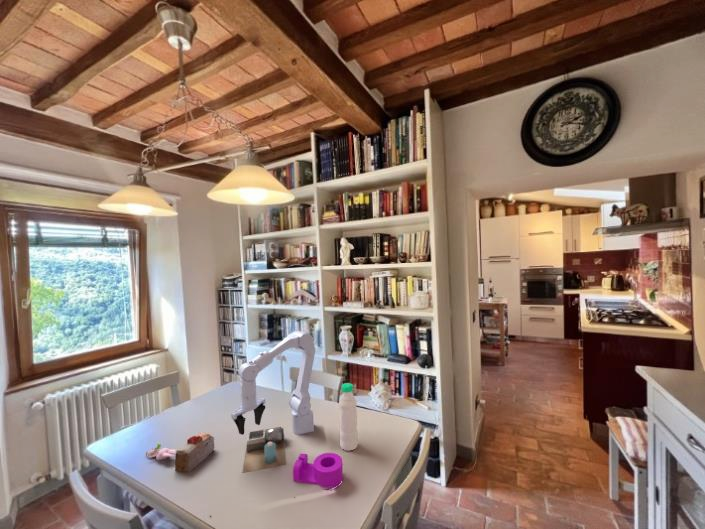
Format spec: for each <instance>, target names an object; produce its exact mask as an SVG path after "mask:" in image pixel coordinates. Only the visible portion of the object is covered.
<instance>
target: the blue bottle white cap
mask: <svg viewBox="0 0 705 529" xmlns="http://www.w3.org/2000/svg"><path fill="white" fill-rule="evenodd" d="M264 450H265V463H267V464H271V463H273V462H275V461H276V445H275V443H273V442H271V441H270V442H268V443H267V444H266V445H265V446H264Z"/></svg>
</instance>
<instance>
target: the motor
mask: <svg viewBox="0 0 705 529" xmlns="http://www.w3.org/2000/svg"><path fill="white" fill-rule="evenodd" d="M284 433H285V432H284V427H282V426H277V427H272V428H263V429H257V430H250V431H248V432H247V437H246V438H247V439H246V446H247V452H252V451H258V450H263V449H264V446H265V445H266V444H267V443H268V442H270V441H271V442H273V443H280V442H282V440H284V438H285V434H284Z"/></svg>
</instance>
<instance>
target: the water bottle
mask: <svg viewBox="0 0 705 529" xmlns="http://www.w3.org/2000/svg"><path fill="white" fill-rule="evenodd" d="M341 392H342V394H341V397H340V398H339V402H338V405H339V413H338V414H339V416H338V417H339V437H340V438H339V440H340V441H339V444H340V445H339V446H340V448H341V449H342V450H343V449H344V450H343V451H345V450H352V449H354V448H356V447H358V446H357V445H359V441H358V427H357V426H358V412H357V399H356V398H355V396H354V394H353V392H354V385H353V384H352V383H349V382H346V383H345V382H344V383H342V385H341ZM356 449H357V448H356Z"/></svg>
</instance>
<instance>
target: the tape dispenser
mask: <svg viewBox="0 0 705 529" xmlns="http://www.w3.org/2000/svg"><path fill="white" fill-rule="evenodd" d="M342 479H343V480H344V473H343V459H342V457H341V456H340V455H339V454H337V453H335V452H325V453H322V454H319V455H318V456H316V457H315V458H314V460H313V463H310V462H309V458H308V454H307V453H300V454H299V456H298V457H297V459H296V461H295V462H294V465H293V468H292V481H293V482H296V483H297V482H299V483H305V484H312V485H313V484H314V485H317V486H320V487H323V488H325V489H324V490H329V489H331V488H334V487H336V486H338V485H339V484H340V483H341V481H342ZM342 482H343V481H342ZM341 484H342V483H341Z"/></svg>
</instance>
